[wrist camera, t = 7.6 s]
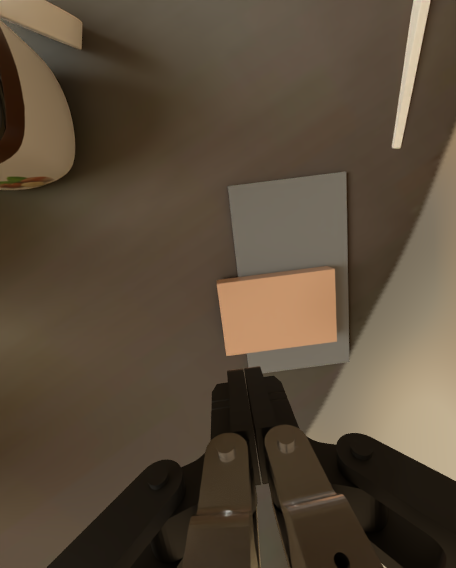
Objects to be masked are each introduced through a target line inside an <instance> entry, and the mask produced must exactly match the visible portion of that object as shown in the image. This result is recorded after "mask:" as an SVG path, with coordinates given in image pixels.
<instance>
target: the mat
mask: <svg viewBox="0 0 456 568" xmlns="http://www.w3.org/2000/svg"><path fill="white" fill-rule="evenodd" d="M228 194H229V203H230V212H231V220H232V229H233V238H234V246H235V255H236V264H237V272H238V277H244V276H252V275H260V274H268V273H276V272H284V271H291V270H299V269H307V268H315V267H323V266H329V267H331V268H334V269H335V291H336V326H337V342H329V343H322V344H314V345H306V346H299V347H291V348H283V349H276V350H268V351H261V352H253V353H247V359H248V368H250V367H257V366H260V367H261V371H262V373H268V372H276V371H284V370H291V369H299V368H306V367H314V366H322V365H329V364H337V363H344V362H349V309H348V250H347V190H346V172H338V173H330V174H322V175H314V176H306V177H298V178H290V179H282V180H274V181H266V182H258V183H250V184H242V185H234V186H228Z"/></svg>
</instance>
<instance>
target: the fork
mask: <svg viewBox="0 0 456 568" xmlns="http://www.w3.org/2000/svg"><path fill="white" fill-rule="evenodd" d="M430 1H431V0H414V1H413V7H412V13H411V19H410V26H409V33H408V40H407V47H406V54H405V61H404V68H403V75H402V82H401V89H400V96H399V102H398V109H397V116H396V123H395V129H394V136H393V142H392V148H396V149H399V148H401V143H402V139H403V134H404V129H405V124H406V119H407V114H408V109H409V104H410V99H411V94H412V89H413V84H414V80H415V75H416V70H417V65H418V60H419V55H420V50H421V45H422V40H423V35H424V30H425V25H426V20H427V15H428V10H429V6H430Z"/></svg>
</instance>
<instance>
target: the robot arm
mask: <svg viewBox="0 0 456 568" xmlns="http://www.w3.org/2000/svg"><path fill="white" fill-rule="evenodd" d="M244 370H245V378H246V383H245V378H244V372H243V369H236V370H229V371H227V376H228V383H221V384H217V385H216V387H215V388H214V390H213V392H212V412H211V441H210V442H209V444H208V445H207V447H206V451H205V453H204V454H203V455H202V456H201V457H200V458H199V459H197V460H196V461H194V462H192V463H190V464H188V465H186V466H183V467H180V465H179V464H178V463H177V462H175V461H173V460H161V461H157V462H155V463H153V464H151V465H150V466H148V467H147V468H146V469H145V470H144V471H143V472H142V473H141V474H140V475H139V476H138V477H137V478H136V479H135V480H134V481H133V482H132V483H131V484H130V485H129V486H128V487H127V488H126V489H125V490H124V491H123V492H122V493H121V494H120V495H119V496H118V497H117V498H116V499H115V500H114V501H113V502H112V503H111V504H110V505H109V506H108V507H107V508H106V509H105V510H104V511H103V512H102V513H101V514H100V515H99V516H98V517H97V518H96V519H95V520H94V521H93V522H92V523H91V524H90V525H89V526H88V527H87V528H86V529H85V530H84V531H83V532H82V533H81V534H80V535H79V536H78V537H77V538H76V539H75V540H74V541H73V542H72V543H71V544H70V545H69V546H68V547H67V548H66V549H65V550H64V551H63V552H62V553H61V554H60V555H59V556H58V557H57V558H56V559H55V560H54V561H53V562H52V563H51V564H50V565H49V566H48V567H47V568H261V562H260V547H259V532H258V517H257V508H256V507H257V493H256V486H255V485H261V482H260V475H259V467H258V460H257V453H258V459H259V465H260V471H261V477H262V483H263V484H267V483H269V487H270V492H271V498H272V506H273V511H274V515H275V519H276V522H277V526H278V530H279V534H280V538H281V541H282V545H283V549H284V553H285V557H286V560H287V564H288V568H383V566H382V564H383V565H384V566H385V567H387V568H456V481H454V480H452V479H450V478H449V477H447V476H445V475H443V474H441V473H439V472H437V471H435V470H433V469H431V468H429V467H427V466H425V465H424V464H422V463H420V462H418V461H416V460H414V459H412V458H410V457H408V456H406V455H404V454H402V453H400V452H398V451H396V450H395V449H393V448H391V447H389V446H387V445H385V444H382V443H381V442H379V441H377V440H375V439H373V438H371V437H369V436H367V435H363V434H359V433H350V434H346V435H344V436H342V437H341V438H340V439H339V440H338V442H337V444H336V445H334V444H327V443H320V442H317V441H314V440H312V439H310V438H308V437H307V436H306V435H305V434H304V432H303V431H301V430H300V429H299V427H298V424H297V422H296V419H295V417H294V414H293V411H292V409H291V406H290V404H289V401H288V399H287V396H286V393H285V391H284V388H283V385H282V383H281V382H280V381H279V380H278V379H277V378H276V377H275V376H269V377H263V374H262V371H261V367H260V366H257V367H250V368H244ZM246 385H247V389H246ZM247 392H248V395H247ZM248 399H249V401H248ZM249 406H250V407H249ZM250 412H251V413H250ZM251 418H252V419H251ZM253 430H254V431H253ZM254 436H255V438H254ZM255 442H256V445H255ZM256 448H257V453H256ZM381 563H382V564H381Z"/></svg>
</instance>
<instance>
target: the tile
mask: <svg viewBox="0 0 456 568" xmlns="http://www.w3.org/2000/svg"><path fill="white" fill-rule="evenodd" d="M217 289H218V296H219V304H220V311H221V319H222V326H223V333H224V341H225V348H226V356H230V355H238V354H245V353H253V352H261V351H268V350H276V349H283V348H291V347H299V346H306V345H314V344H322V343H329V342H337V326H336V291H335V269H334V268H331V267H329V266H323V267H315V268H307V269H299V270H291V271H284V272H276V273H268V274H260V275H252V276H244V277H237V278H229V279H221V280H217Z"/></svg>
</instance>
